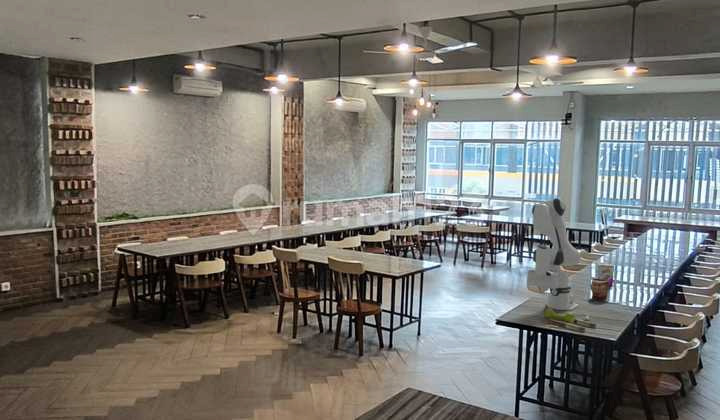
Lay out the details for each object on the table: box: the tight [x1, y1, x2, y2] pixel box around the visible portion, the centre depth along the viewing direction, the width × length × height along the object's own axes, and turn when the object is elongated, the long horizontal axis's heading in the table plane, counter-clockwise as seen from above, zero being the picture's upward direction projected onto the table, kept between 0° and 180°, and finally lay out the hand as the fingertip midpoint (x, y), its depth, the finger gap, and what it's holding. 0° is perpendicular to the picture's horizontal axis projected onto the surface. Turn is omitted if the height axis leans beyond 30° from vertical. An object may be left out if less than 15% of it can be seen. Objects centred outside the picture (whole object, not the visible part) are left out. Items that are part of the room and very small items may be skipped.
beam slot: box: [542, 317, 597, 333], centre depth 342 cm, size 14×26×2 cm, turn 41°
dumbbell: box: [544, 307, 576, 325], centre depth 346 cm, size 16×8×7 cm, turn 49°
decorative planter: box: [590, 278, 610, 302], centre depth 404 cm, size 20×12×14 cm, turn 150°
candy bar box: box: [596, 263, 615, 287], centre depth 446 cm, size 11×5×16 cm, turn 72°
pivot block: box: [582, 315, 591, 322], centre depth 344 cm, size 3×3×4 cm
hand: (542, 293), depth 354 cm, fingers closed
